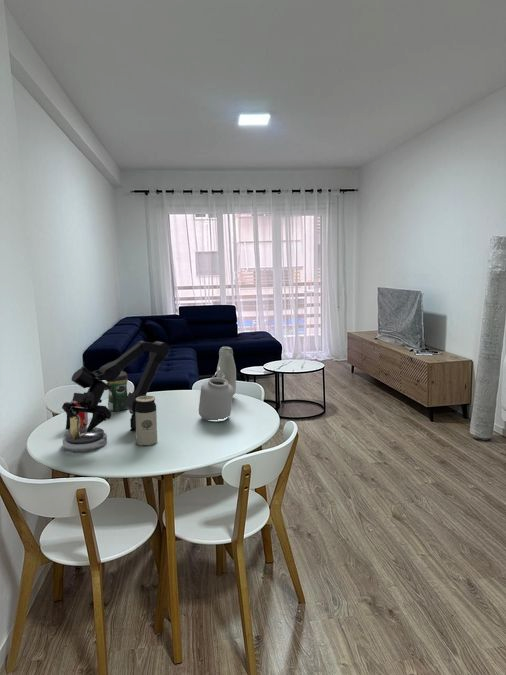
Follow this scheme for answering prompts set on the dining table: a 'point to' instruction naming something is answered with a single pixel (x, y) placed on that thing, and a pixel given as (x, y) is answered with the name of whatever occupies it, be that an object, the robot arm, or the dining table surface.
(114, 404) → the coffee jar
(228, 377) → the grey bottle
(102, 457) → the dining table surface
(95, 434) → the dial
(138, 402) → the travel mug
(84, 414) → the soda can
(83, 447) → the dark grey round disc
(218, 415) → the jar
